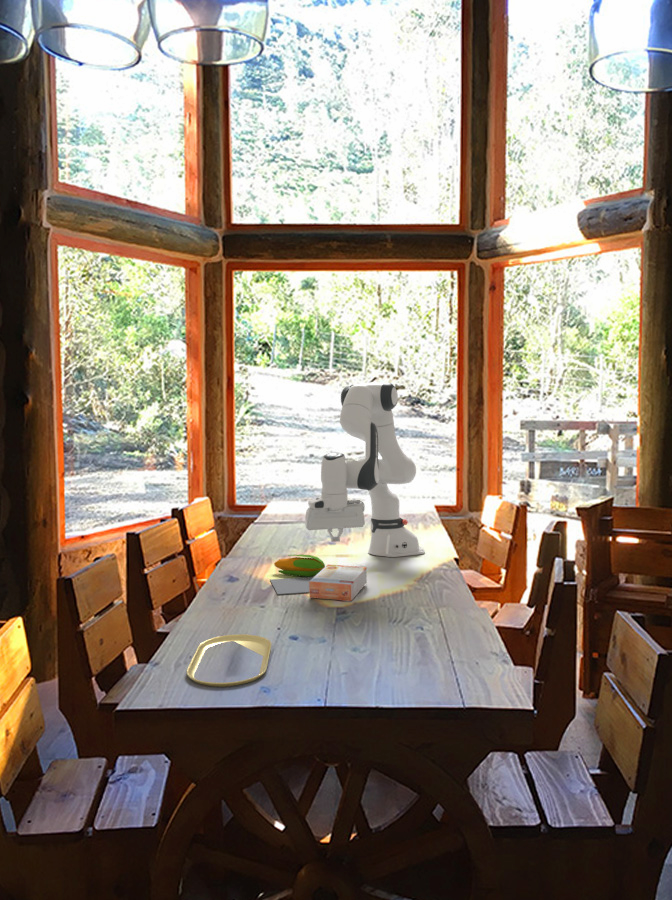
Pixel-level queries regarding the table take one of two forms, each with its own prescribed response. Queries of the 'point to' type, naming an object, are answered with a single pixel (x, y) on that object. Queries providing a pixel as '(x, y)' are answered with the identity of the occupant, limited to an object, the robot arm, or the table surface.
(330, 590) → the cracker box
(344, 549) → the table surface
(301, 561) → the corn
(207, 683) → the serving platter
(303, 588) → the mat
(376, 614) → the table surface
